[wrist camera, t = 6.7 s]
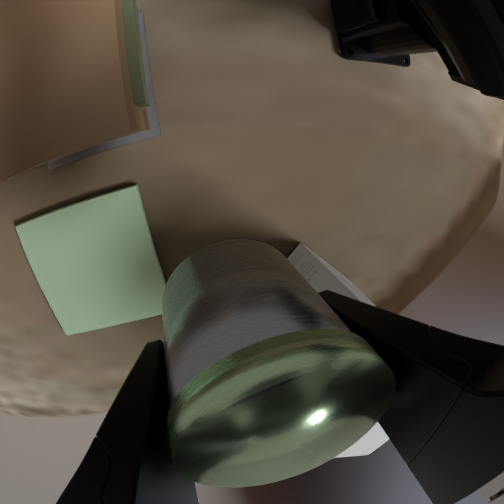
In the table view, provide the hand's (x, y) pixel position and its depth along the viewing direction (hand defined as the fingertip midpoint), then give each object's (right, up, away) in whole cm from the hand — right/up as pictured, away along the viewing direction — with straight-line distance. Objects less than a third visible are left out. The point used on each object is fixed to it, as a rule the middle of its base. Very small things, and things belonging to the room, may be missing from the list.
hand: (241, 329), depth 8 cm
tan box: (-9, +11, +5) cm, 15 cm away
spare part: (0, 0, +1) cm, 1 cm away
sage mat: (-10, +1, +9) cm, 14 cm away
